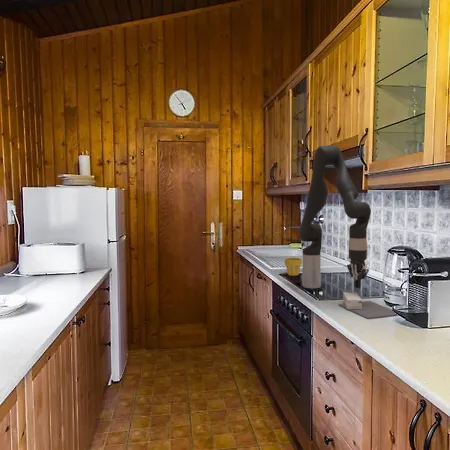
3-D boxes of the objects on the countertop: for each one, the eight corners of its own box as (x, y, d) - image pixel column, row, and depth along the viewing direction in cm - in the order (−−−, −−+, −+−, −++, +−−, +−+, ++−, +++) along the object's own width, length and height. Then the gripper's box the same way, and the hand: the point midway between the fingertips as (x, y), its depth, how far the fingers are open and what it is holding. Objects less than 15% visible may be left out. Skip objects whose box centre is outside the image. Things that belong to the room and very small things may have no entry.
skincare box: (343, 301, 170) (346, 310, 158) (343, 291, 169) (346, 299, 157) (357, 301, 168) (362, 310, 157) (357, 291, 168) (362, 300, 156)
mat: (338, 305, 166) (338, 304, 166) (370, 302, 170) (370, 300, 170) (367, 319, 146) (367, 317, 146) (402, 315, 151) (402, 313, 151)
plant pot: (281, 274, 233) (281, 259, 232) (290, 272, 240) (290, 256, 240) (296, 277, 226) (296, 260, 225) (305, 274, 233) (305, 258, 233)
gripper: (341, 247, 169) (341, 285, 171) (359, 250, 157) (359, 292, 158) (356, 246, 171) (355, 284, 173) (375, 249, 159) (374, 290, 160)
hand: (357, 287), depth 165 cm, fingers closed
